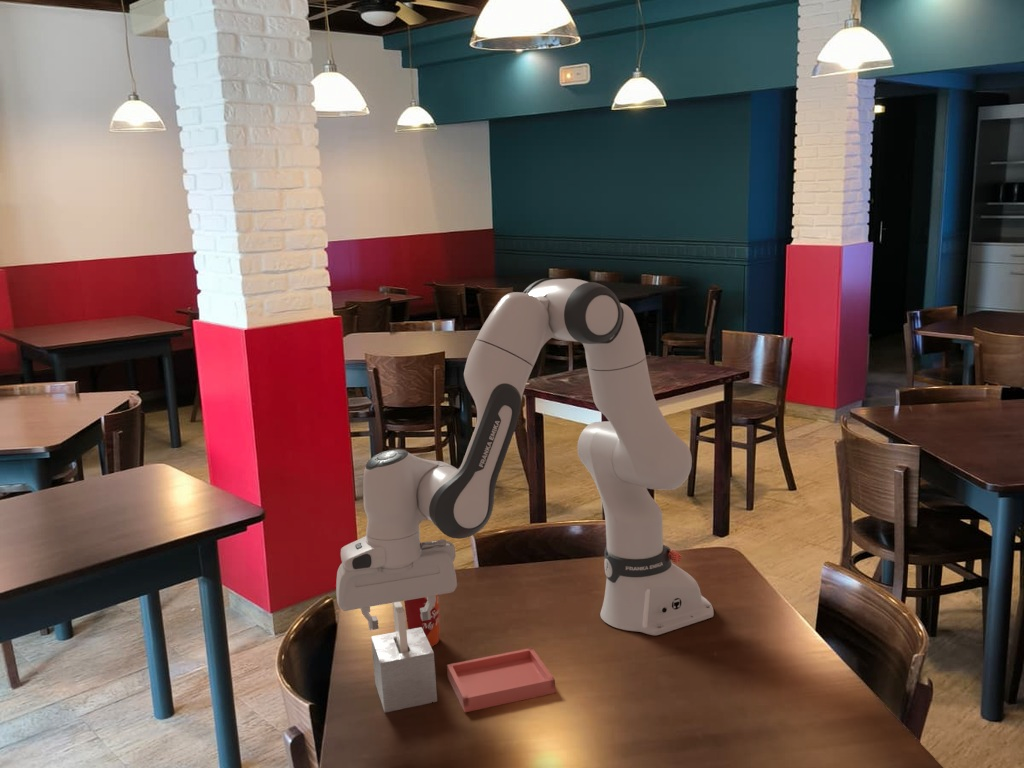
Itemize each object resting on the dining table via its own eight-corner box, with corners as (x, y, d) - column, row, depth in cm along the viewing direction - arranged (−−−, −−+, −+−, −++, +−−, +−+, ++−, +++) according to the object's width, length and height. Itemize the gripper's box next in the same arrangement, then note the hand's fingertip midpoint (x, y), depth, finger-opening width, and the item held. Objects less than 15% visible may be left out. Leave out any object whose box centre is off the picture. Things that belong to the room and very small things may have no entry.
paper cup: (438, 652, 168) (433, 582, 165) (399, 650, 169) (393, 581, 166) (449, 632, 175) (444, 566, 172) (412, 630, 177) (407, 564, 174)
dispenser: (425, 673, 160) (421, 627, 158) (437, 701, 151) (433, 652, 149) (375, 683, 158) (371, 636, 156) (384, 712, 148) (380, 663, 146)
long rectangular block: (404, 663, 156) (399, 599, 154) (410, 677, 151) (405, 611, 149) (397, 665, 156) (392, 601, 153) (403, 678, 151) (397, 613, 148)
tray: (532, 660, 163) (532, 647, 162) (555, 692, 152) (554, 679, 151) (447, 677, 158) (446, 664, 158) (464, 712, 147) (463, 698, 147)
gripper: (450, 531, 155) (454, 605, 158) (331, 549, 149) (338, 626, 152) (458, 544, 149) (463, 620, 152) (335, 563, 143) (342, 642, 146)
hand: (399, 623), depth 152 cm, fingers open, 8 cm apart
